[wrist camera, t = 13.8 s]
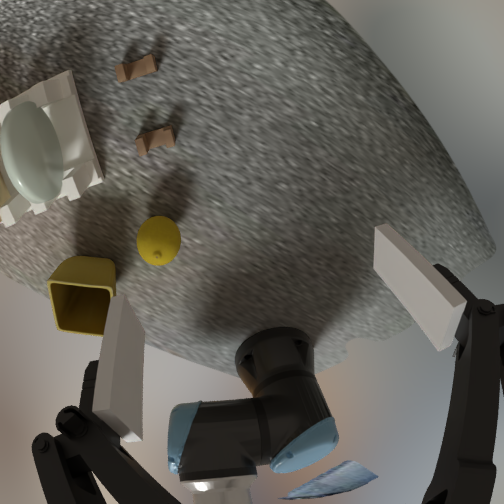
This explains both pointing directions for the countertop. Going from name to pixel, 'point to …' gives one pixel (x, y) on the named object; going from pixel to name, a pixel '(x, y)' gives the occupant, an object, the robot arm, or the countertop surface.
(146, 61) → the board stand
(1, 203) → the bamboo board
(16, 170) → the sage plate
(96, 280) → the flower pot
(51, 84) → the dish rack
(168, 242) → the lemon
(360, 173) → the countertop surface
